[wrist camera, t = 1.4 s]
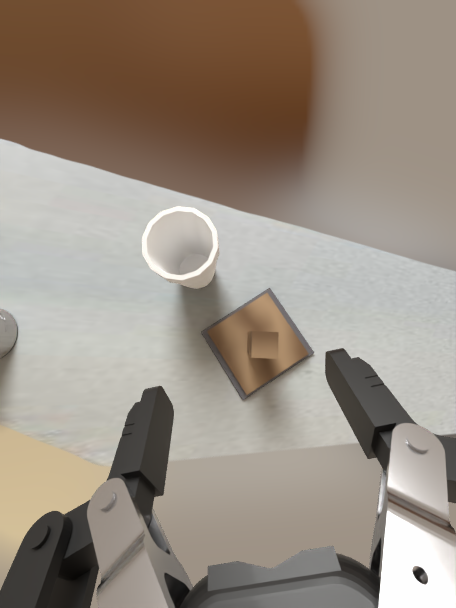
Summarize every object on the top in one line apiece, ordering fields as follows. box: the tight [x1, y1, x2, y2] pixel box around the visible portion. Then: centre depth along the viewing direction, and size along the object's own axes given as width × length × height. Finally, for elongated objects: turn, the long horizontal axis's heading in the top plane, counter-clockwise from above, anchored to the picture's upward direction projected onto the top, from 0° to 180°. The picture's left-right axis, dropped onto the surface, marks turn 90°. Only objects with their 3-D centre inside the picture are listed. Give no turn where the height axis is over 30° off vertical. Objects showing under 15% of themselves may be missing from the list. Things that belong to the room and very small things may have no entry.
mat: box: [201, 288, 314, 400], centre depth 39 cm, size 14×13×1 cm
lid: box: [207, 293, 309, 395], centre depth 34 cm, size 12×12×11 cm
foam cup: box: [142, 206, 219, 289], centre depth 35 cm, size 10×9×13 cm
